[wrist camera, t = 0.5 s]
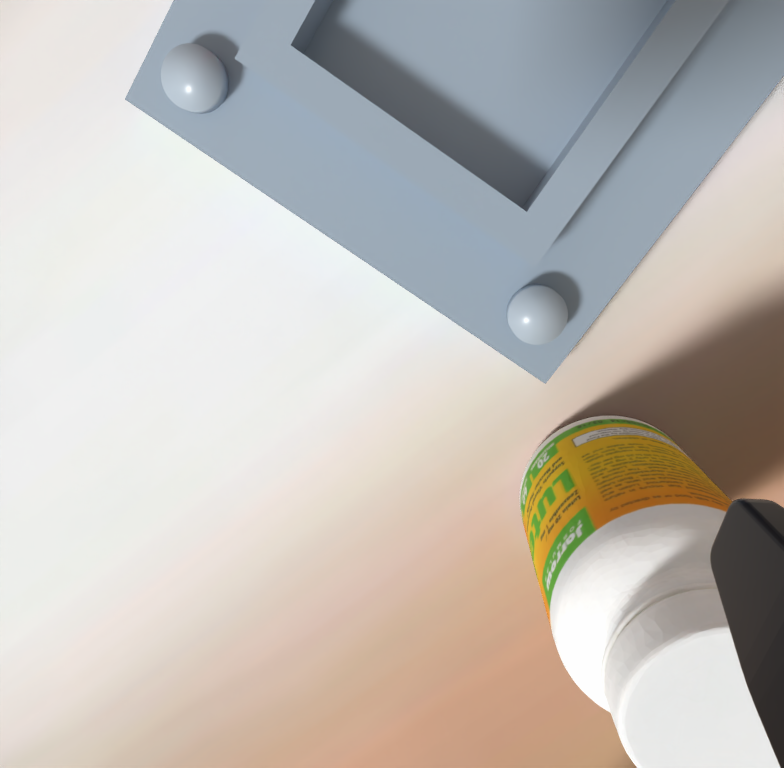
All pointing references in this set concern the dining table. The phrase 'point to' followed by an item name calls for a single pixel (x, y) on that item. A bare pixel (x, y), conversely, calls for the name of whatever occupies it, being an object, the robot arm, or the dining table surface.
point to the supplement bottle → (640, 592)
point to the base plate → (473, 135)
